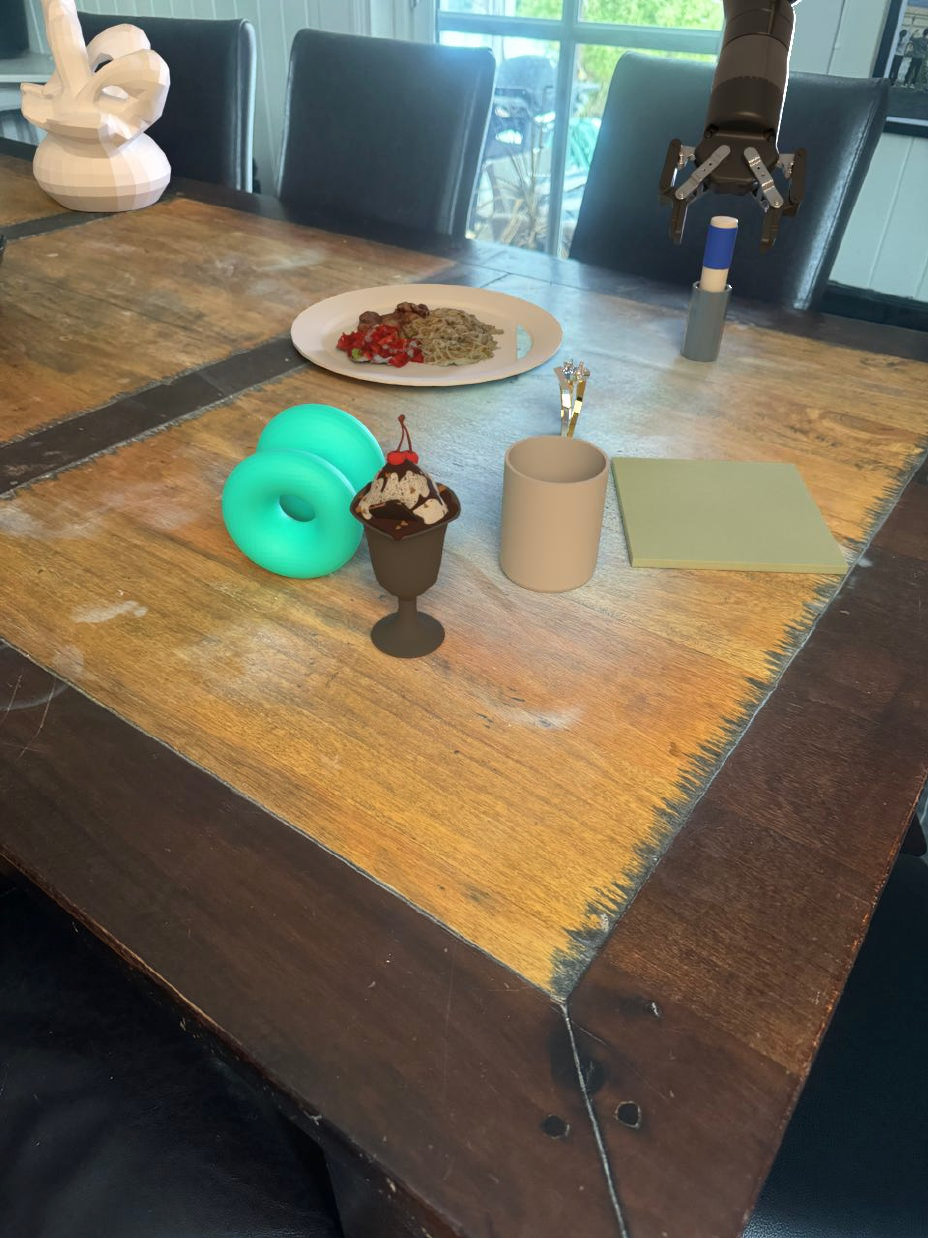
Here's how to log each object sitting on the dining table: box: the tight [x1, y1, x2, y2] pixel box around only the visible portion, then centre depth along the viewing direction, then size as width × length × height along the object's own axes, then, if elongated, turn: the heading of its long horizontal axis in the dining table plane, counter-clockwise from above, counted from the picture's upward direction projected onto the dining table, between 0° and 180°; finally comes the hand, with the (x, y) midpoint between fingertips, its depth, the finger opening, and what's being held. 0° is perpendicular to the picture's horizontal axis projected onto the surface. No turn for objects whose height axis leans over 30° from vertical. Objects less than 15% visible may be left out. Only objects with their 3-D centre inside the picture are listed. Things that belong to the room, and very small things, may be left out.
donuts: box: [221, 403, 386, 580], centre depth 66 cm, size 10×10×10 cm
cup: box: [498, 434, 611, 594], centre depth 66 cm, size 7×10×9 cm
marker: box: [699, 215, 739, 292], centre depth 95 cm, size 3×3×14 cm
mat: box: [610, 456, 850, 575], centre depth 74 cm, size 16×16×1 cm
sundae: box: [349, 413, 462, 659], centre depth 56 cm, size 7×7×15 cm
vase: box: [19, 0, 172, 213], centre depth 138 cm, size 29×22×35 cm
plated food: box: [290, 283, 564, 387], centre depth 101 cm, size 30×30×3 cm
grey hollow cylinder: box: [680, 280, 733, 363], centre depth 98 cm, size 4×4×8 cm
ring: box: [552, 358, 591, 438], centre depth 81 cm, size 7×3×8 cm, turn 172°
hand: (720, 244), depth 92 cm, fingers open, 8 cm apart
